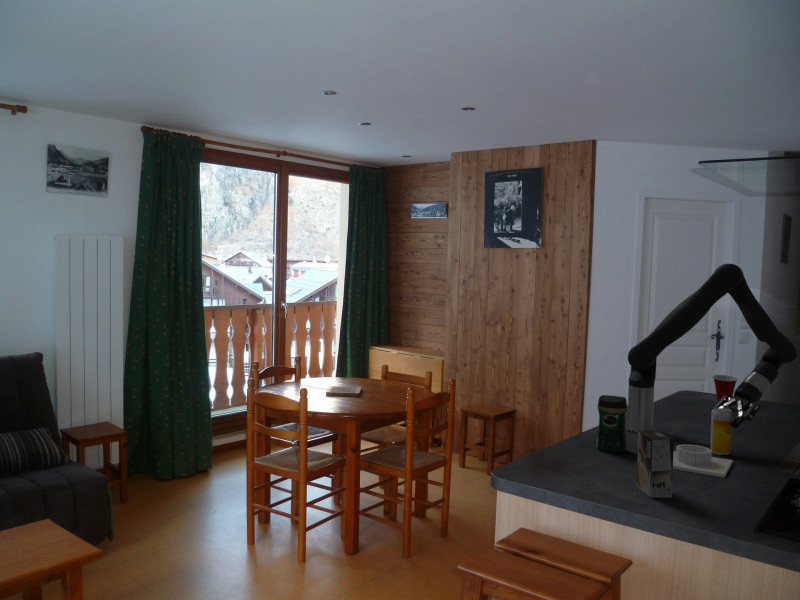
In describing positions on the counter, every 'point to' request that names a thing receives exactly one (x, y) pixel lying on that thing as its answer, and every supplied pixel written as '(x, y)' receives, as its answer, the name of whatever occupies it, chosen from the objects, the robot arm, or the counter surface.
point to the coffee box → (655, 464)
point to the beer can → (720, 431)
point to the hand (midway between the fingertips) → (723, 423)
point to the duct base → (706, 470)
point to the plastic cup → (724, 386)
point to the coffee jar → (612, 423)
